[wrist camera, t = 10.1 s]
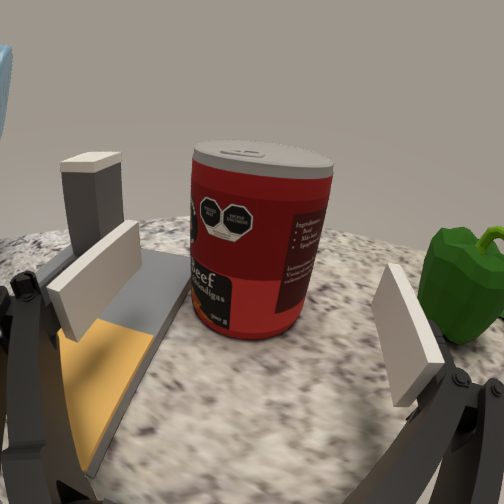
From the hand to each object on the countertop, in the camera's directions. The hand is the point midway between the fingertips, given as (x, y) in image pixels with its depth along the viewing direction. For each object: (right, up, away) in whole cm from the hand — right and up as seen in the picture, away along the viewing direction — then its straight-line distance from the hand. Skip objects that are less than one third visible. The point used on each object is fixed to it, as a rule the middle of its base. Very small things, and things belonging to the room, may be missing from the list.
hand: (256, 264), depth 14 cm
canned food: (-1, -3, +6) cm, 7 cm away
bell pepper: (+16, -6, +6) cm, 18 cm away
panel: (-12, -4, +2) cm, 13 cm away
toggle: (-14, +1, +8) cm, 16 cm away
